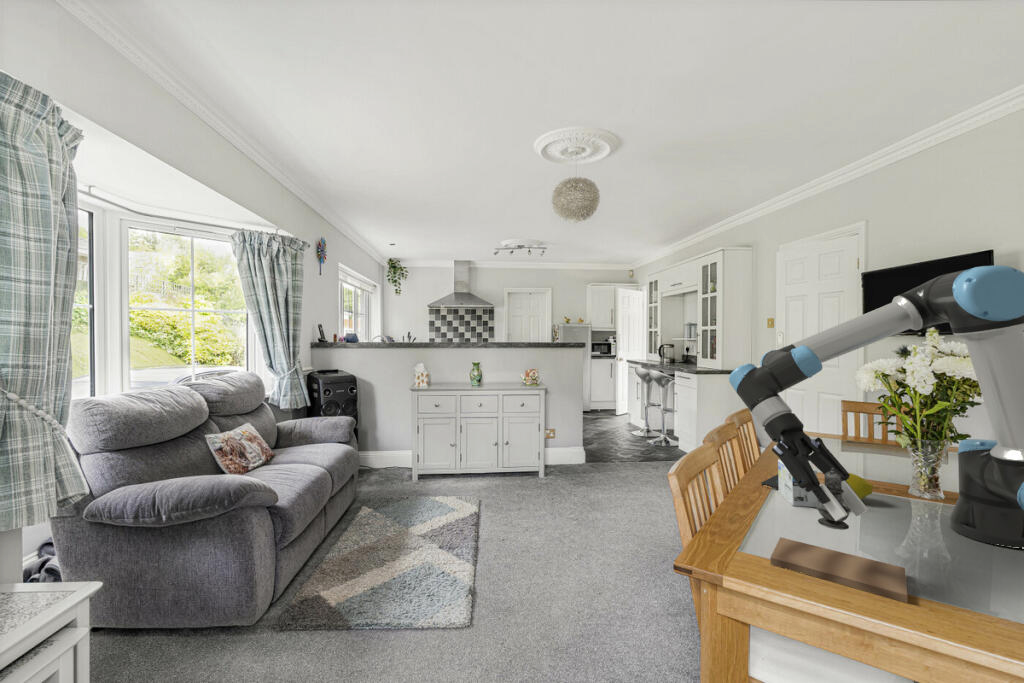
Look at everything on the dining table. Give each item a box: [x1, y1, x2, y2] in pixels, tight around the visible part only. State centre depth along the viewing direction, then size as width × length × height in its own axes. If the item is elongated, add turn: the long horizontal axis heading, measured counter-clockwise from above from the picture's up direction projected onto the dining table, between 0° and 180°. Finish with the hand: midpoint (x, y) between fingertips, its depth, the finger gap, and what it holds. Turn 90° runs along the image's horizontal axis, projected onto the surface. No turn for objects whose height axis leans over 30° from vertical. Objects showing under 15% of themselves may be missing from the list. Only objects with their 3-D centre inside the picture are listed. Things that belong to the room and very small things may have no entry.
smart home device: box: [761, 473, 779, 491], centre depth 144 cm, size 8×2×20 cm
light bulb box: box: [777, 459, 819, 508], centre depth 129 cm, size 11×7×11 cm, turn 169°
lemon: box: [846, 472, 874, 500], centre depth 128 cm, size 11×8×8 cm
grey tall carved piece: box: [816, 468, 852, 531], centre depth 91 cm, size 6×6×12 cm
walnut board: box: [770, 536, 909, 604], centre depth 91 cm, size 22×12×2 cm, turn 49°
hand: (852, 515), depth 88 cm, fingers closed on grey tall carved piece, 5 cm apart
